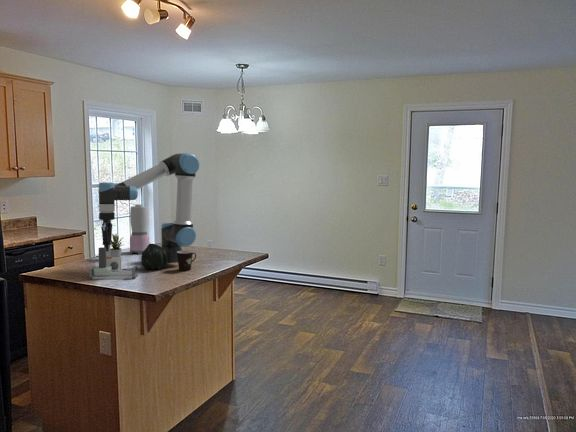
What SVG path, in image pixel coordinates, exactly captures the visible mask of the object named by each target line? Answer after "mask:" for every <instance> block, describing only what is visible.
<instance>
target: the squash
mask: <svg viewBox="0 0 576 432" xmlns="http://www.w3.org/2000/svg"><path fill="white" fill-rule="evenodd" d="M140 260H141V265H142V267H144V268H145V269H146V270H154V271H155V270H161V269H162V268H165V267H166V266H167V265H168V263H169V262H168V260H169V255H168V253H167V251H166V250H165V249H163V248H162V246H160V245H158V244H155V243H149V245H148V246H147V248H146V249H145V250H144V252H142V254H141V257H140Z"/></svg>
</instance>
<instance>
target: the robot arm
mask: <svg viewBox="0 0 576 432" xmlns="http://www.w3.org/2000/svg"><path fill="white" fill-rule="evenodd" d="M199 169H200V161H199V159H198V157H197V156H196V155H195V154H193V153H188V152H185V153H174V154H172V155H170V156H169V157H167V158H165V159H163V160H160V161H159V163H158V164H157V165H154V166H152V167H150V168H148V169H146V170H144V171H142V172H140V173H138V174H135V175H134V176H131V177H129V178H128V179H125V180H124V181H121V182H119V183H117V184H115V183H114V182H106V181H105V182H103V181H102V182H99V184H98V192H97V193H98V205H97V208H98V211H99V213H98V219H99V220H100V221H102V223H101V226H100V227H101V228H100V229H101V237H102V238H101V239H102V246H103V247H106V257H111V256H110V249H111V245H112V243H111V242H112V241H113V236H112V234H113V223H112V221H114V220H115V218H116V215H115V201H135V200H137V198H138V195H139V192H138V190H140V189H141V188H143V187H145V186H148V185H149V184H152V183H153V182H155V181H157V180H160V179H161V178H163V177H165V176H166V177H170V176H171V175H174V177H175V178H176V179H177V183H176V185H177V186H176V187H177V188H176V205H175V206H176V207H175V220H174V221H173V222H164V223H161V229H160V230H161V233H160V235H161V247H162V248H163V249H165V250H166V251H167V253H168V255H169V260H168V263H178V257H177V252H178V251H183V249H182V247H184V248H185V247H189V246H192V245H193V244H194V243H195V241H196V239H197V233H196V230H195V229H194V223H193V222H192V216H191V215H192V199H193V180H194V179H196V173H197V172H198V171H199ZM111 240H112V241H111ZM110 244H111V245H110Z"/></svg>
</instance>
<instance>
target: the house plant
mask: <svg viewBox="0 0 576 432" xmlns="http://www.w3.org/2000/svg"><path fill="white" fill-rule="evenodd" d="M122 240H123V237H121V238H120V239H119V236H118V233H115V234H114V233H112V239H111V241H112V242H111V243H112V244H110V256H111V257H121V255H122V248H121V247H122V246H123V244H122V243H123V242H122Z"/></svg>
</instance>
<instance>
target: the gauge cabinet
mask: <svg viewBox="0 0 576 432" xmlns="http://www.w3.org/2000/svg"><path fill="white" fill-rule="evenodd" d="M106 266H112V269H111V271H122V257H121V256H120V257H112V258H111V259H106Z"/></svg>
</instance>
